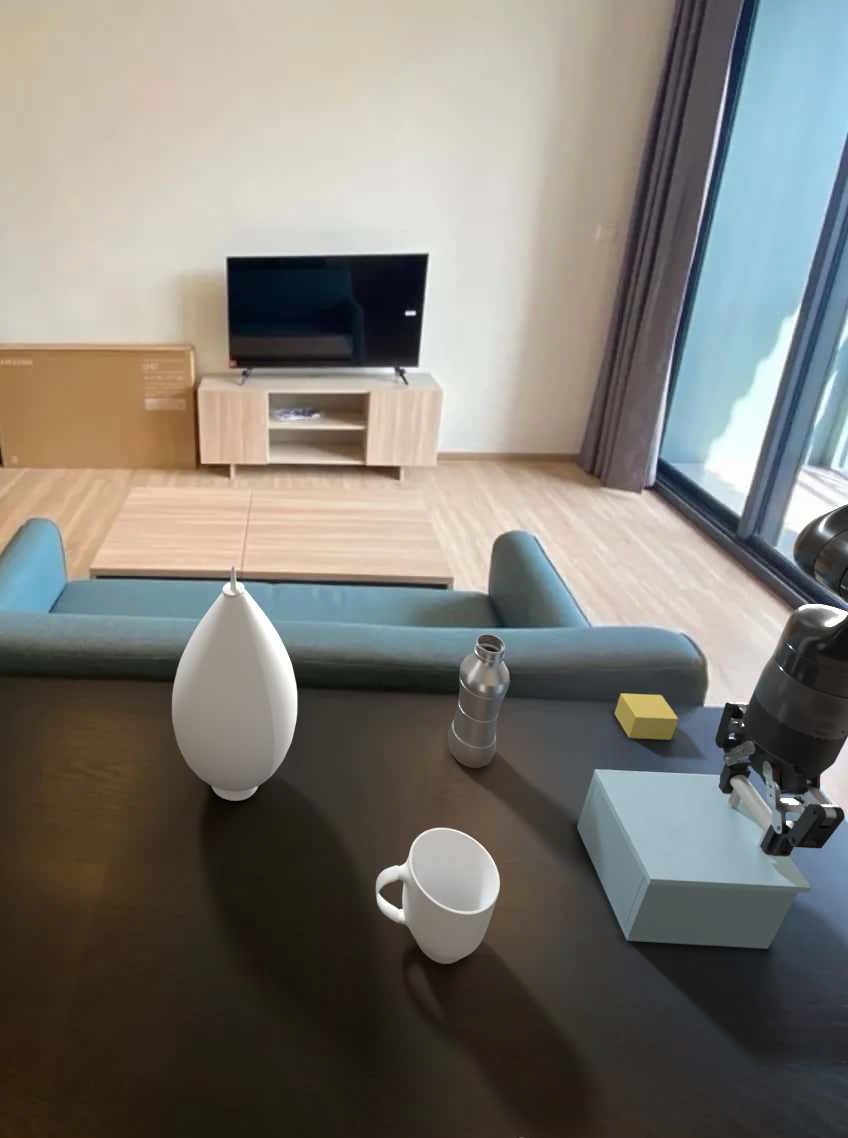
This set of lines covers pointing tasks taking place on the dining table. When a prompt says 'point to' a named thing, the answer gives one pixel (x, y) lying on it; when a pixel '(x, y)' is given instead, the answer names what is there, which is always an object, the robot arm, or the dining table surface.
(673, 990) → the dining table surface
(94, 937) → the dining table surface
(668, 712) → the sponge
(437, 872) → the mug
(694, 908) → the light blue box
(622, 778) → the box lid
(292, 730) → the lamp
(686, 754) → the dining table surface
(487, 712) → the silver metal bottle
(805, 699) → the robot arm
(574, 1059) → the dining table surface
